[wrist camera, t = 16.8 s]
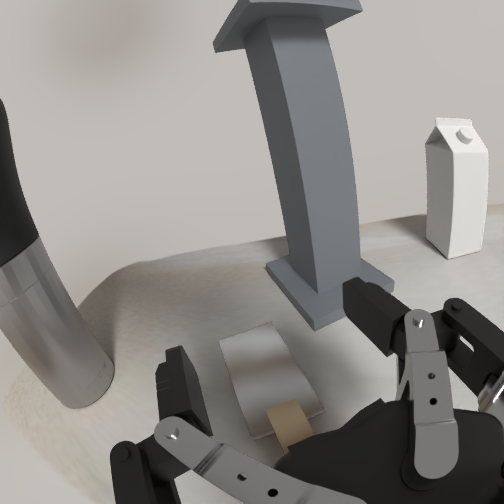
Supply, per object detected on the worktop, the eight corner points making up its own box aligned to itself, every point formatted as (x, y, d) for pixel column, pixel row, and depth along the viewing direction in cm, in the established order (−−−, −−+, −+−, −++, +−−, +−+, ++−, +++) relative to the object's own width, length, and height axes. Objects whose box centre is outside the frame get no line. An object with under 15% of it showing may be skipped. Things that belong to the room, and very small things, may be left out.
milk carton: (425, 238, 37) (421, 116, 29) (457, 231, 36) (457, 117, 28) (447, 260, 31) (450, 119, 22) (480, 251, 30) (487, 121, 21)
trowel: (377, 496, 11) (384, 490, 10) (294, 534, 10) (290, 533, 9) (273, 328, 29) (269, 311, 28) (221, 347, 28) (214, 331, 27)
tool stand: (393, 291, 29) (358, -2, 15) (314, 331, 27) (245, -12, 13) (332, 247, 41) (294, 35, 27) (267, 272, 39) (212, 42, 25)
